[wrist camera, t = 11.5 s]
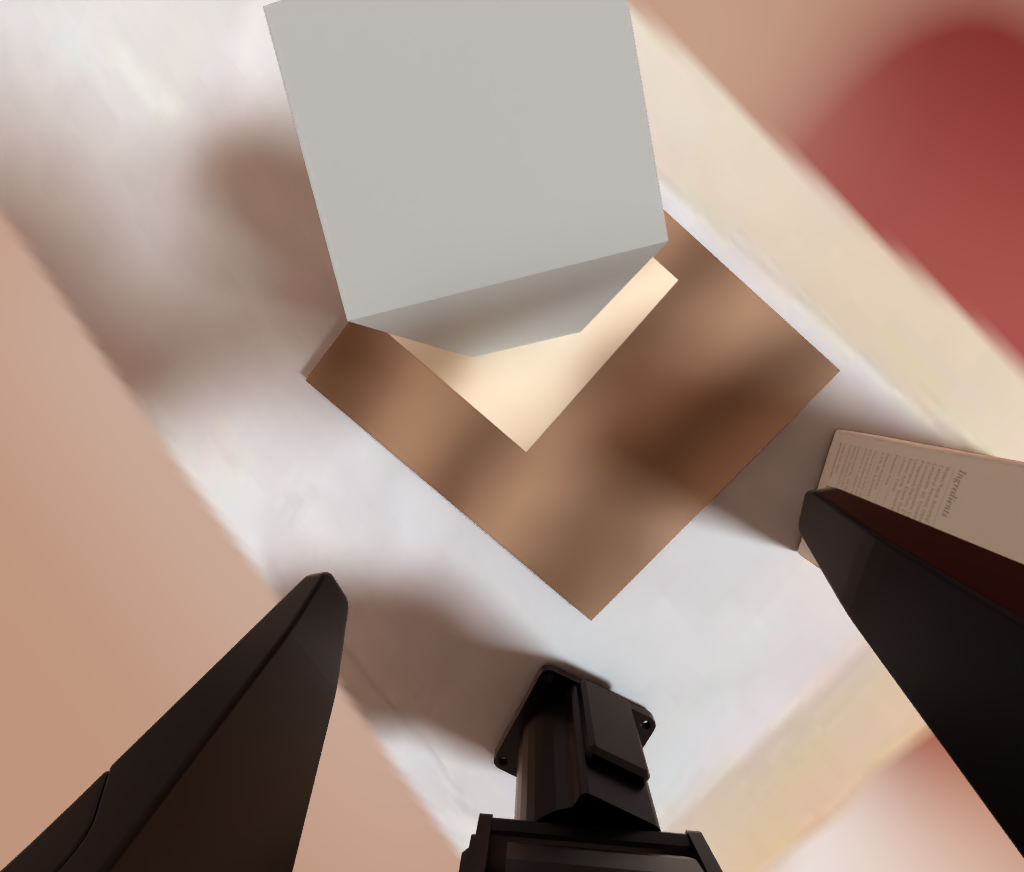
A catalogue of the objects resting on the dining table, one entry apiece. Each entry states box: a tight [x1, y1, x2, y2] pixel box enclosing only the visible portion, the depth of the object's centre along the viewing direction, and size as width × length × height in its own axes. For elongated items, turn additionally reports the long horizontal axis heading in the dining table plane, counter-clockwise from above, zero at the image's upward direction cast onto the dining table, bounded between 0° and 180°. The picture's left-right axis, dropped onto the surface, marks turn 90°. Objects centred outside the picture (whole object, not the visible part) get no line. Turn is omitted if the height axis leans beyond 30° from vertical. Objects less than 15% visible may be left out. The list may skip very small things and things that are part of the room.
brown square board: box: [306, 210, 840, 620], centre depth 19 cm, size 18×16×1 cm
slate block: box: [263, 0, 668, 357], centre depth 12 cm, size 4×5×12 cm
